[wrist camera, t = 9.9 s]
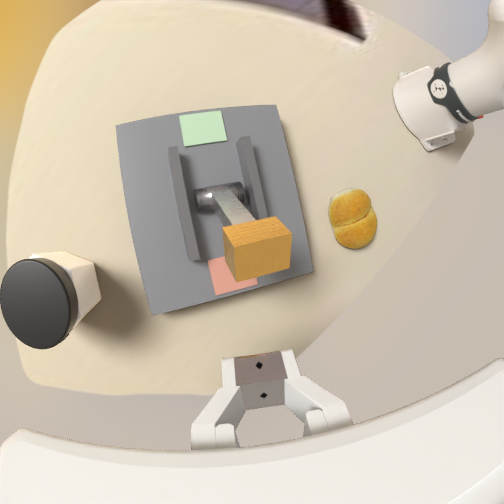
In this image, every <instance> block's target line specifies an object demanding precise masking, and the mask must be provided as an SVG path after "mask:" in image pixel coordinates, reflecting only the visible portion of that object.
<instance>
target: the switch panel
mask: <svg viewBox="0 0 504 504" xmlns="http://www.w3.org/2000/svg"><path fill="white" fill-rule="evenodd" d="M116 132H117V143H118V152H119V160H120V168H121V176H122V182H123V189H124V195H125V201H126V207H127V213H128V218H129V223H130V228H131V233H132V238H133V243H134V247H135V252H136V256H137V261H138V265H139V269H140V273H141V277H142V281H143V285H144V289H145V292H146V296H147V300H148V303H149V307H150V310H151V313H152V316H153V315H157V314H162V313H166V312H170V311H174V310H178V309H181V308H185V307H189V306H193V305H197V304H201V303H205V302H208V301H212V300H216V299H220V298H223V297H227V296H231V295H234V294H238V293H241V292H245V291H249V290H252V289H256V288H259V287H263V286H266V285H270V284H273V283H277V282H280V281H284V280H287V279H290V278H294V277H297V276H300V275H304V274H307V273H310V272H313V267H312V261H311V256H310V250H309V245H308V240H307V235H306V230H305V225H304V220H303V215H302V210H301V206H300V201H299V196H298V192H297V187H296V183H295V178H294V174H293V170H292V166H291V161H290V157H289V153H288V149H287V145H286V141H285V137H284V133H283V129H282V125H281V121H280V118H279V114H278V110H277V107H276V105H255V106H239V107H226V108H216V109H206V110H198V111H190V112H183V113H177V114H170V115H164V116H159V117H153V118H148V119H143V120H138V121H133V122H129V123H124V124H120V125H116ZM238 181H240V182H241V183H242V185H243V188H244V193H245V200H244V203H242V204H243V206H244V207H245V208H246V209H247V210H248V211H249V213H250V214H251V215H252V216H253V217H254V219H255V220H260V219H264V218H269V217H274V216H276V217H277V218H278V219H279V220H280V221H281V223H282V224H283V225H284V226H285V227H286V228H287V229H288V230H289V231H290V232H291V233H292V242H291V256H290V268H288V269H285V270H281V271H277V272H274V273H270V274H267V275H263V276H259V277H256V278H252V279H248V280H245V281H241V282H237V283H236V281H235V279H234V277H233V275H232V273H231V272H230V270H229V268H228V266H227V264H226V262H225V254H224V243H223V232H222V227H224V226H223V225H222V223H221V222H220V220H219V218H218V217H217V215H216V214H215V212H214V210H213V209H209V210H204V211H199V212H198V211H197V209H196V205H195V200H194V189H199V188H204V187H210V186H215V185H221V184H226V183H232V182H238Z"/></svg>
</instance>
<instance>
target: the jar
mask: <svg viewBox="0 0 504 504" xmlns="http://www.w3.org/2000/svg"><path fill="white" fill-rule="evenodd" d="M101 299H102V297H101V293H100V289H99V285H98V281H97V276H96V272H95V267H94V263H93V262H91V261H88V260H85V259H83V258H80V257H77V256H75V255H72V254H70V253H67V252H65V251H59V252H48V253H36V254H32V256H31V257H30V258H29V259H24V260H21V261H18V262H17V263H15V264H14V265H12V266H11V267H10V268H9V270H8V271H7V272H6V274H5V276H4V278H3V281H2V284H1V289H0V304H1V310H2V313H3V316H4V319H5V321H6V323H7V325H8V327H9V329H10V330H11V331H12V333H13V334H14V335H15V336H16V337H17V338H18V339H19V340H20V341H21V342H23V343H24V344H26V345H28V346H30V347H32V348H36V349H49V348H52V347H54V346H56V345H57V344H59V343H61V341H63V340H64V339H65V338H66V337H67V336H68V335H69V333H70V332H71V330H72V329H73V328H74V327H75V326H76V325H77V324H78V323H79V322H80V321H81V320H82V319H83V318H84V317H85V316H86V315H87V314H88V313H89V311H90V310H91V309H92V308H93V307H94V306H95V305H96V304H97V303H98V302H99V301H100V300H101Z"/></svg>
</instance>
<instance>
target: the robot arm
mask: <svg viewBox="0 0 504 504" xmlns="http://www.w3.org/2000/svg"><path fill="white" fill-rule="evenodd" d="M393 96H394V101H395V105H396V108H397V110H398V112H399V115H400V117H401V118H402V120H403V122H404V123H405V125H406V126H407V128H408V129H409V130H410V131H411V132H412V133H413V134H414V135H415V136H416V137H417V138H418V139H419V140H420V142H421V143H422V145H423V146H424V148H425V149H426V150H427V151H431V150H434V149H437V148H439V147H442V146H445V145H447V144H450V143H453V142H455V132H458V131H461V130H464V129H465V126H466V123H469V122H473V121H474V120H476V119H480V118H483V115H485V114H488V113H491V112H494V111H498V110H502V109H504V0H491V1H490V3H489V6H488V32H487V35H486V38H485V40H484V42H483V43H482V44H481V46H480V47H479V48H478V49H476V50H475V51H474V52H472V53H471V54H469V55H467V56H465V57H463V58H461V59H459V60H457V61H455V62H453V63H446V64H442V65H440V66H439V67H437V68H435V69H433V68H431V67H429V66H427V67H424V68H422V69H419V70H417V71H415V72H412V73H410V74H408V73H406V72H401V73H399V80H398V81H397V82H396V83H395V85H394V88H393ZM222 380H223V388H219V389H218V391H217V392H216V393H215V395H214V396H213V397H212V399H211V400H210V401H209V403H208V404H207V405H206V407H205V408H204V409H203V411H202V412H201V413H200V415H199V416H198V417H197V419H196V420H195V421H194V423H193V424H192V426H191V450H147V449H132V448H122V447H112V446H105V445H98V444H92V443H85V442H80V441H74V440H70V439H65V438H61V437H56V436H52V435H48V434H44V433H40V432H37V431H33V430H29V429H25V428H22V429H19V430H18V431H16V432H15V433H14V434H13V435H11V436H10V437H9V438H8V439H6V440H5V441H4V442H3V444H2V445H1V448H0V504H504V358H497V359H495V360H494V361H492V362H490V363H489V364H487V365H486V366H484V367H483V368H481V369H479V370H478V371H476V372H474V373H472V374H471V375H469V376H467V377H465V378H464V379H462V380H460V381H458V382H456V383H455V384H452V385H451V386H449V387H447V388H445V389H443V390H441V391H439V392H436V393H434V394H432V395H430V396H428V397H426V398H424V399H422V400H419V401H417V402H414V403H412V404H410V405H407V406H405V407H403V408H400V409H397V410H395V411H392V412H389V413H387V414H384V415H381V416H378V417H376V418H373V419H370V420H367V421H363V422H360V423H357V424H353V422H352V420H351V417H350V415H349V412H348V409H347V407H346V405H345V402H344V401H342V400H340V399H339V398H337V397H336V396H334V395H333V394H331V393H330V392H328V391H327V390H325V389H324V388H322V387H321V386H319V385H318V384H316V383H315V382H313V381H312V380H310V379H309V378H308V377H306V376H301V374H300V371H299V367H298V364H297V362H296V358H295V355H294V352H293V350H292V349H287V350H282V351H276V352H270V353H263V354H257V355H250V356H241V357H233V358H222ZM284 404H285V406H286V407H287V408H288V409H289V410H290V411H291V412H293V413H294V414H295V415H296V416H297V417H298V418H299V419H300V420H301V421H302V422H304V423H305V426H304V433H303V438H298V439H293V440H288V441H282V442H276V443H270V444H263V445H255V446H248V447H240V445H239V442H238V439H237V436H236V433H235V430H236V428H237V426H238V424H239V423H240V421H241V419H242V417H243V415H244V413H245V410H250V409H257V408H263V407H270V406H277V405H284Z"/></svg>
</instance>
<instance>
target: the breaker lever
mask: <svg viewBox="0 0 504 504" xmlns="http://www.w3.org/2000/svg"><path fill="white" fill-rule="evenodd" d="M194 200H195V205H196V209H197V211H198V212H199V211H204V210H209V209H213V210H214V212H215V214H216V215H217V217H218V218H219V220H220V222H221V223H222V225H223V226H224V227H222V232H223V243H224V254H225V262H226V264H227V266H228V268H229V270H230V272H231V273H232V275H233V277H234V279H235V281H236V283H237V282H241V281H245V280H248V279H252V278H256V277H259V276H263V275H267V274H270V273H274V272H277V271H281V270H285V269H288V268H290V256H291V242H292V233H291V232H290V231H289V230H288V229H287V228H286V227H285V226H284V225H283V224H282V223H281V221H280V220H279V219H278V218H277V217H276V216H274V217H269V218H264V219H260V220H255V219H254V217H253V216H252V215H251V214H250V213H249V211H248V210H247V209H246V208H245V207H244V206H243V204H242V203H244V200H245V193H244V188H243V185H242V183H241V182H240V181H238V182H232V183H226V184H221V185H215V186H210V187H204V188H199V189H194Z"/></svg>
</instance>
